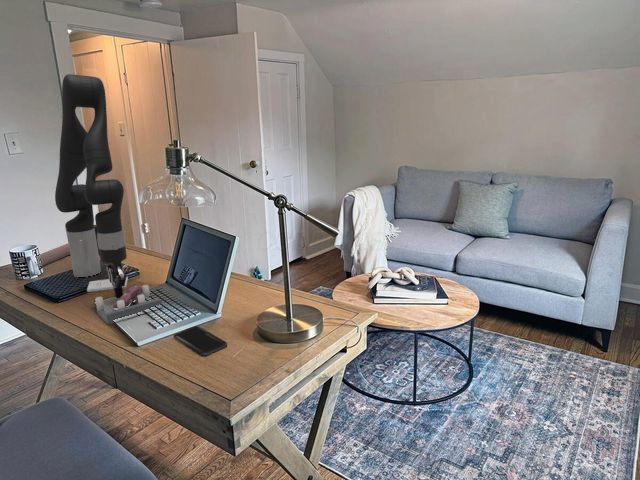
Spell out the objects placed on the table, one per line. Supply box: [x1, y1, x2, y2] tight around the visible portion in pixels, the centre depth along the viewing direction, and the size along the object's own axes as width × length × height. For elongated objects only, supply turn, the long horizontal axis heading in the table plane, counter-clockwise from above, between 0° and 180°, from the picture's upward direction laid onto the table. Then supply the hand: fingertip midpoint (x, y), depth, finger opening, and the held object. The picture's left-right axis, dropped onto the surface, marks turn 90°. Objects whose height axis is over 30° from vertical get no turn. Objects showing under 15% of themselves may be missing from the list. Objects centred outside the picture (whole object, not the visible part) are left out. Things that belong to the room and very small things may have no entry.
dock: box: [94, 284, 162, 326], centre depth 139 cm, size 10×16×5 cm, turn 132°
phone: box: [173, 325, 228, 358], centre depth 121 cm, size 8×1×15 cm
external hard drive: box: [86, 276, 129, 293], centre depth 160 cm, size 2×8×12 cm
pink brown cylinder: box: [39, 243, 70, 267], centre depth 186 cm, size 5×5×18 cm
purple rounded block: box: [112, 285, 143, 309], centre depth 143 cm, size 10×5×7 cm, turn 171°
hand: (119, 297), depth 145 cm, fingers closed
